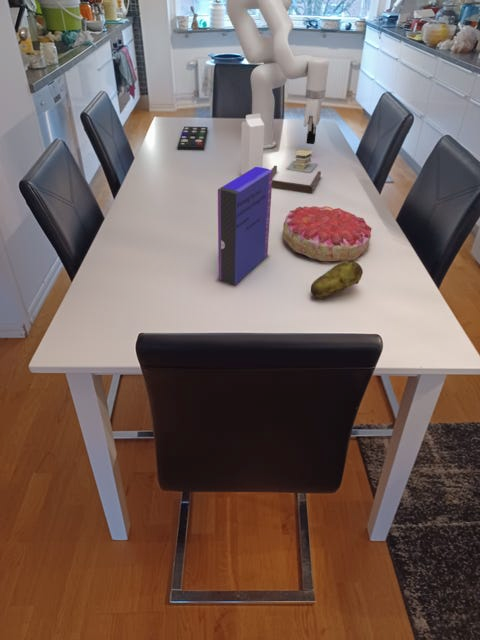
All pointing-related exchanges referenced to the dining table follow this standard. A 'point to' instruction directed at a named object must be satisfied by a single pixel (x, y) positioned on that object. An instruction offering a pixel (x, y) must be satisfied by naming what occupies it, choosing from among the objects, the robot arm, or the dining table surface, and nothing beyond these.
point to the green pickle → (337, 279)
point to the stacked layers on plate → (302, 161)
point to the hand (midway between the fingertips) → (310, 143)
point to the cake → (326, 233)
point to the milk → (252, 143)
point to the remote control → (193, 138)
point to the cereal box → (243, 224)
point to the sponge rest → (295, 184)
